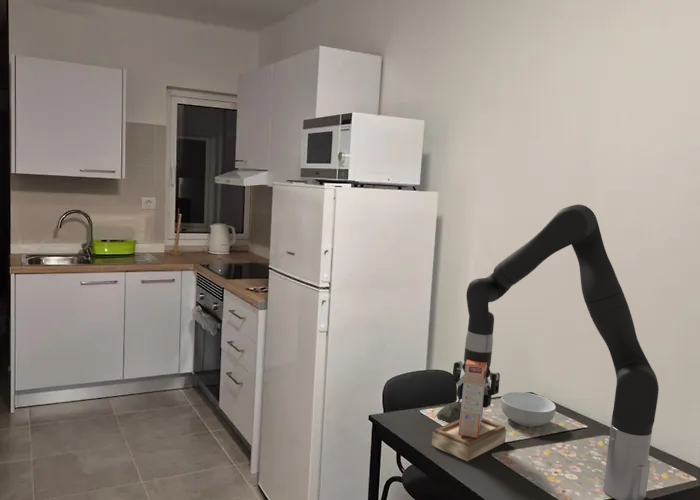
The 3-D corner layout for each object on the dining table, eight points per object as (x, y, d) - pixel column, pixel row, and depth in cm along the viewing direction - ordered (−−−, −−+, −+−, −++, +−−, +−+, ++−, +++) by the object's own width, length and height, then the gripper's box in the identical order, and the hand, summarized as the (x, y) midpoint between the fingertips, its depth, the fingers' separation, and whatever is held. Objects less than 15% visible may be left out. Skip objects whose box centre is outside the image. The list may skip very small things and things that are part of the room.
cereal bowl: (490, 421, 196) (492, 399, 195) (511, 408, 209) (513, 388, 208) (542, 437, 185) (545, 415, 185) (560, 423, 199) (563, 402, 198)
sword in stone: (442, 425, 190) (445, 387, 189) (433, 416, 198) (435, 379, 197) (472, 423, 193) (475, 386, 192) (461, 415, 200) (464, 379, 199)
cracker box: (479, 439, 169) (486, 366, 166) (457, 435, 170) (464, 363, 168) (483, 421, 182) (489, 353, 180) (462, 418, 184) (468, 350, 181)
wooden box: (505, 442, 180) (506, 426, 179) (467, 461, 166) (468, 444, 165) (470, 428, 188) (471, 413, 188) (431, 445, 174) (432, 429, 173)
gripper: (507, 351, 171) (501, 407, 173) (464, 339, 181) (459, 392, 183) (493, 355, 166) (487, 413, 168) (450, 343, 176) (444, 398, 178)
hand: (473, 402), depth 175 cm, fingers closed on cracker box, 8 cm apart
